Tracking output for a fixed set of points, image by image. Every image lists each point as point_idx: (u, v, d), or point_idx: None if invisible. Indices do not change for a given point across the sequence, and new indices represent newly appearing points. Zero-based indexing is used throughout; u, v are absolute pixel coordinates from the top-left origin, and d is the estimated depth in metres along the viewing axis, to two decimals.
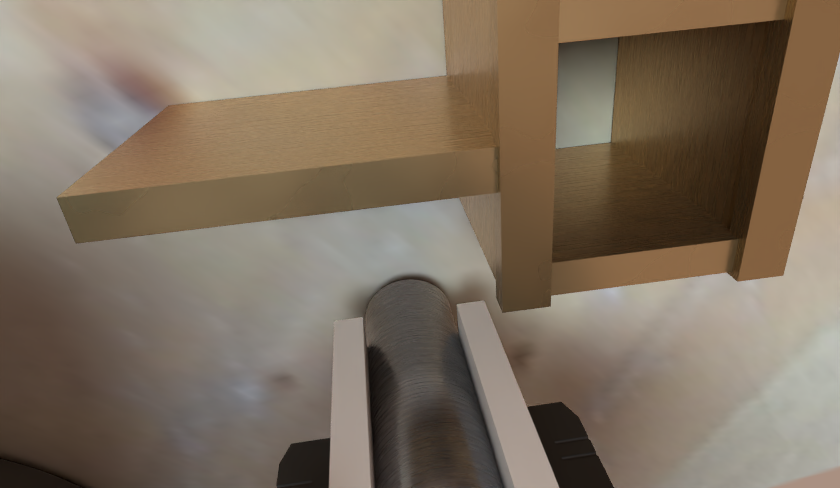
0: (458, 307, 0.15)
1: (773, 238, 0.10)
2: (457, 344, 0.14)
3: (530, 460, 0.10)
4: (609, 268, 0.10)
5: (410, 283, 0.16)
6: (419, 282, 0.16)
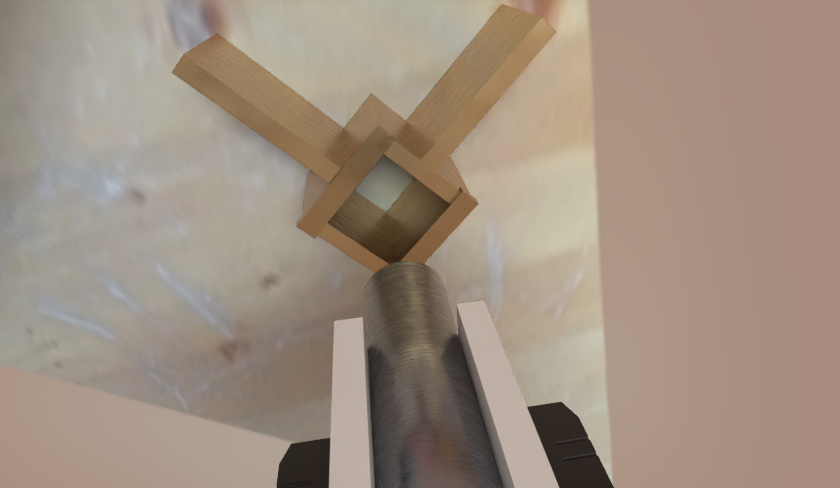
0: (458, 307, 0.15)
1: None
2: (449, 319, 0.16)
3: (530, 460, 0.10)
4: (344, 241, 0.24)
5: (406, 264, 0.17)
6: (415, 263, 0.17)
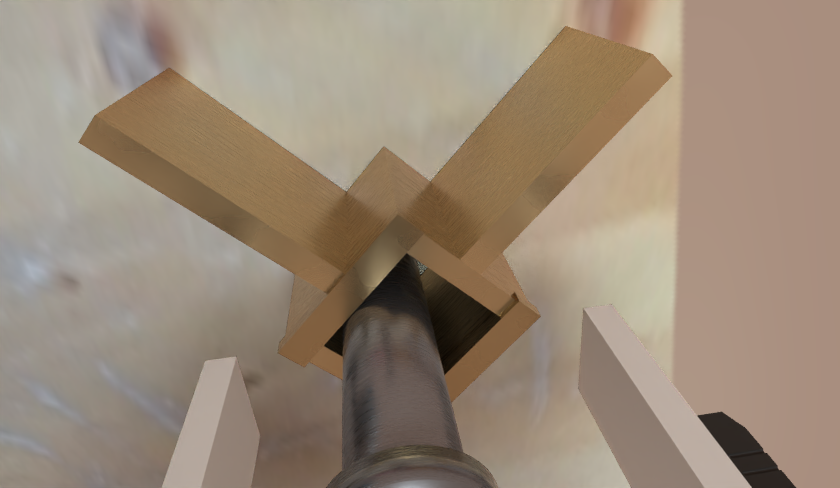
0: (586, 311, 0.14)
1: None
2: None
3: (723, 476, 0.10)
4: None
5: None
6: None
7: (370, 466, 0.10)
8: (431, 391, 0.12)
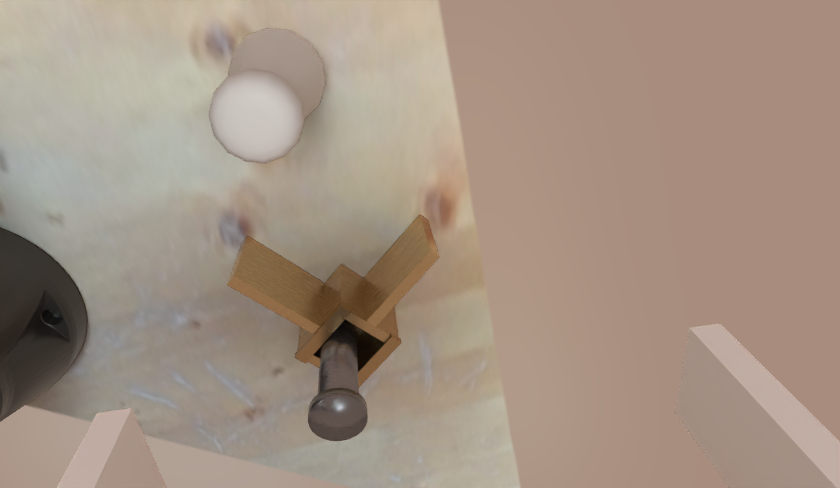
0: (693, 332, 0.13)
1: (358, 381, 0.42)
2: None
3: None
4: None
5: None
6: None
7: (324, 393, 0.34)
8: (348, 372, 0.37)
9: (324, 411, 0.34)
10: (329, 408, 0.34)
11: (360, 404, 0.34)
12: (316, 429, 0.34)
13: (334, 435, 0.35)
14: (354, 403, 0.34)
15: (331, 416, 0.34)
